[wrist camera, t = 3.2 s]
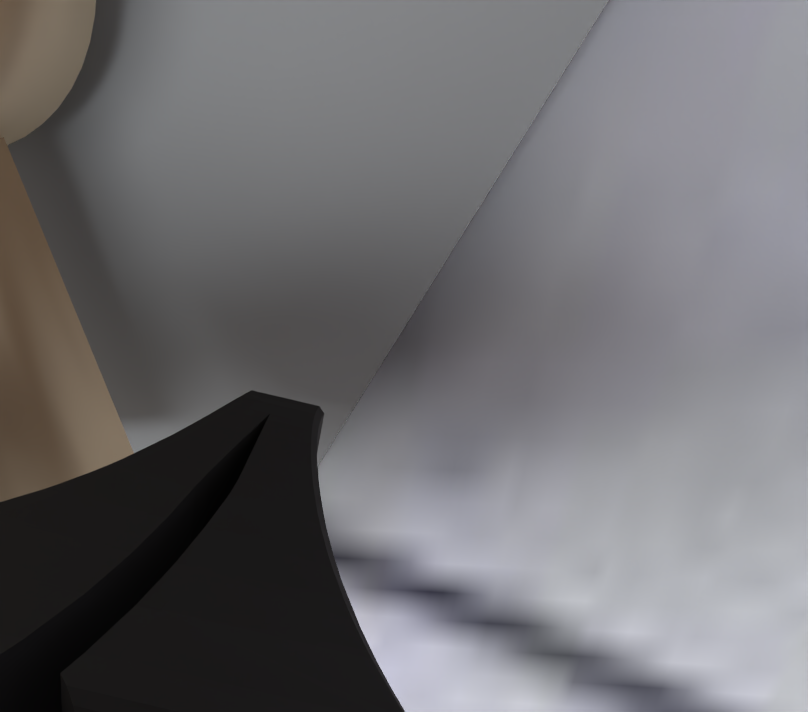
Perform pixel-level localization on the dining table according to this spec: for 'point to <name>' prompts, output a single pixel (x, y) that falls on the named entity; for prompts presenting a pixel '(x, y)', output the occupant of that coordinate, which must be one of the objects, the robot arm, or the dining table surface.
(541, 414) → the dining table surface
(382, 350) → the base plate
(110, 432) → the beige rounded piece
